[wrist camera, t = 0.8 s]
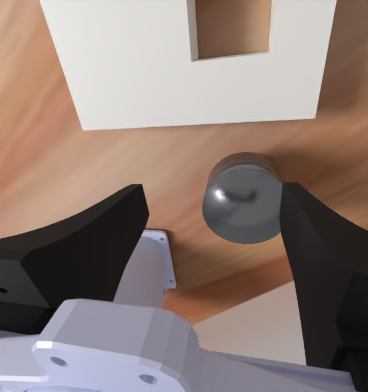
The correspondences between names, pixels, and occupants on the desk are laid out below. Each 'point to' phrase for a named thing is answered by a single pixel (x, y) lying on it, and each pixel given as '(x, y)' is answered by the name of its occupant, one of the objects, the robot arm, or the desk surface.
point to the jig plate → (185, 64)
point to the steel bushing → (244, 198)
